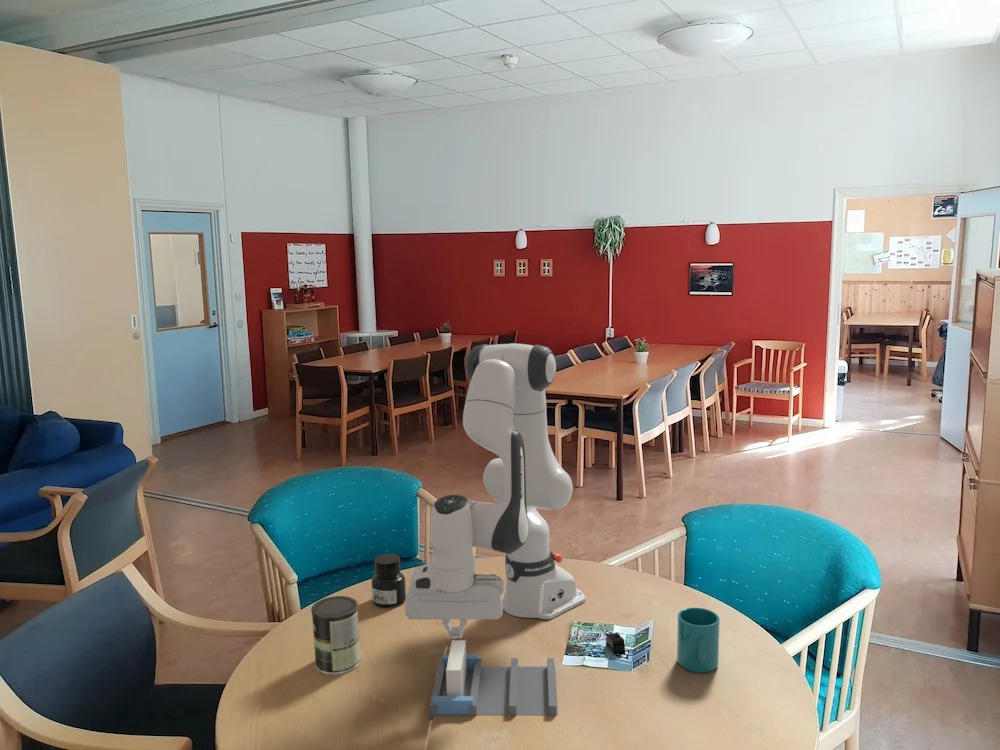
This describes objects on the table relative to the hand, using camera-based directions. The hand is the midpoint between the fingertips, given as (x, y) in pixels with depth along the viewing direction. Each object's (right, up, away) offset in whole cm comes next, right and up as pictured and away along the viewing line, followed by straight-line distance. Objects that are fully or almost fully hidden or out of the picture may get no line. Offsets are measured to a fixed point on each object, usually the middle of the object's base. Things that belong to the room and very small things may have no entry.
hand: (455, 636), depth 164 cm
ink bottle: (-20, -6, +46) cm, 51 cm away
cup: (+54, -10, +11) cm, 56 cm away
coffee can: (-28, -12, +16) cm, 34 cm away
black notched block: (+36, -10, +17) cm, 41 cm away
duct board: (+8, -13, +2) cm, 15 cm away
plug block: (0, -12, +2) cm, 12 cm away
